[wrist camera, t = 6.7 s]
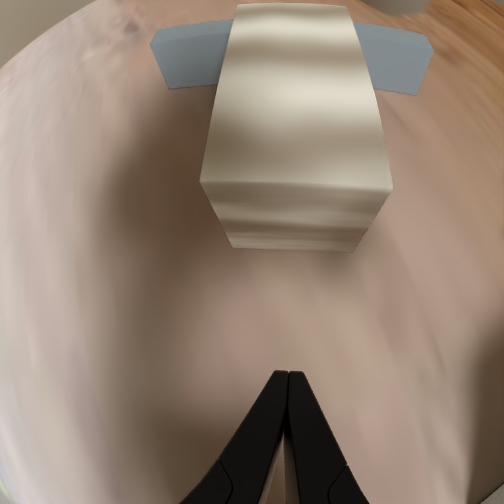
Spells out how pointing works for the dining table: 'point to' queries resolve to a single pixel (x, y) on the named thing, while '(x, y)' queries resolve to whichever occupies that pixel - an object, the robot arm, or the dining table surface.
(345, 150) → the block
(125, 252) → the dining table surface
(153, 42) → the board
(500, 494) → the tea box
